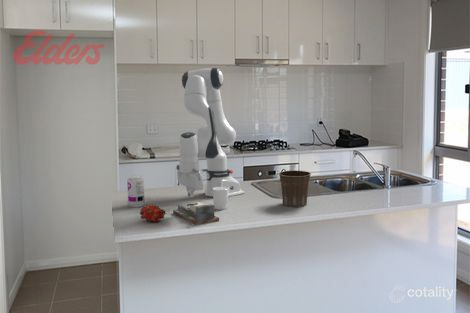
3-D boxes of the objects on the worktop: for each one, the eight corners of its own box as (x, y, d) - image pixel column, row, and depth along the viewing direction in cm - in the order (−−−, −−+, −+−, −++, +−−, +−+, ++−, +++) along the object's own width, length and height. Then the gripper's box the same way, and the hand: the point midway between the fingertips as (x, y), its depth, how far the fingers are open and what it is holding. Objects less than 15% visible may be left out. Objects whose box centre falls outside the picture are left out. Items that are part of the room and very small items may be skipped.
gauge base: (195, 209, 231) (195, 194, 230) (219, 221, 211) (218, 204, 210) (173, 213, 225) (172, 197, 224) (194, 225, 205) (194, 208, 204)
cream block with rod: (199, 212, 219) (199, 201, 219) (205, 215, 214) (205, 203, 213) (184, 214, 216) (184, 203, 215) (190, 217, 210) (190, 205, 210)
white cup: (220, 205, 240) (220, 186, 238) (232, 207, 235) (231, 188, 233) (209, 208, 234) (209, 188, 232) (221, 210, 229) (221, 190, 227)
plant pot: (299, 210, 228) (299, 177, 226) (272, 205, 239) (272, 173, 236) (316, 203, 240) (317, 172, 238) (290, 199, 251) (290, 169, 249)
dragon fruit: (138, 224, 213) (164, 227, 213) (136, 217, 205) (164, 221, 206) (141, 207, 217) (167, 210, 217) (140, 200, 209) (167, 203, 210)
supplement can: (128, 208, 236) (127, 178, 234) (128, 204, 244) (126, 176, 242) (145, 207, 238) (144, 177, 236) (144, 203, 246) (142, 175, 244)
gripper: (205, 170, 213) (207, 199, 215) (186, 163, 230) (187, 191, 233) (193, 171, 210) (194, 201, 212) (174, 165, 227) (176, 193, 229)
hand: (190, 196), depth 222 cm, fingers closed
